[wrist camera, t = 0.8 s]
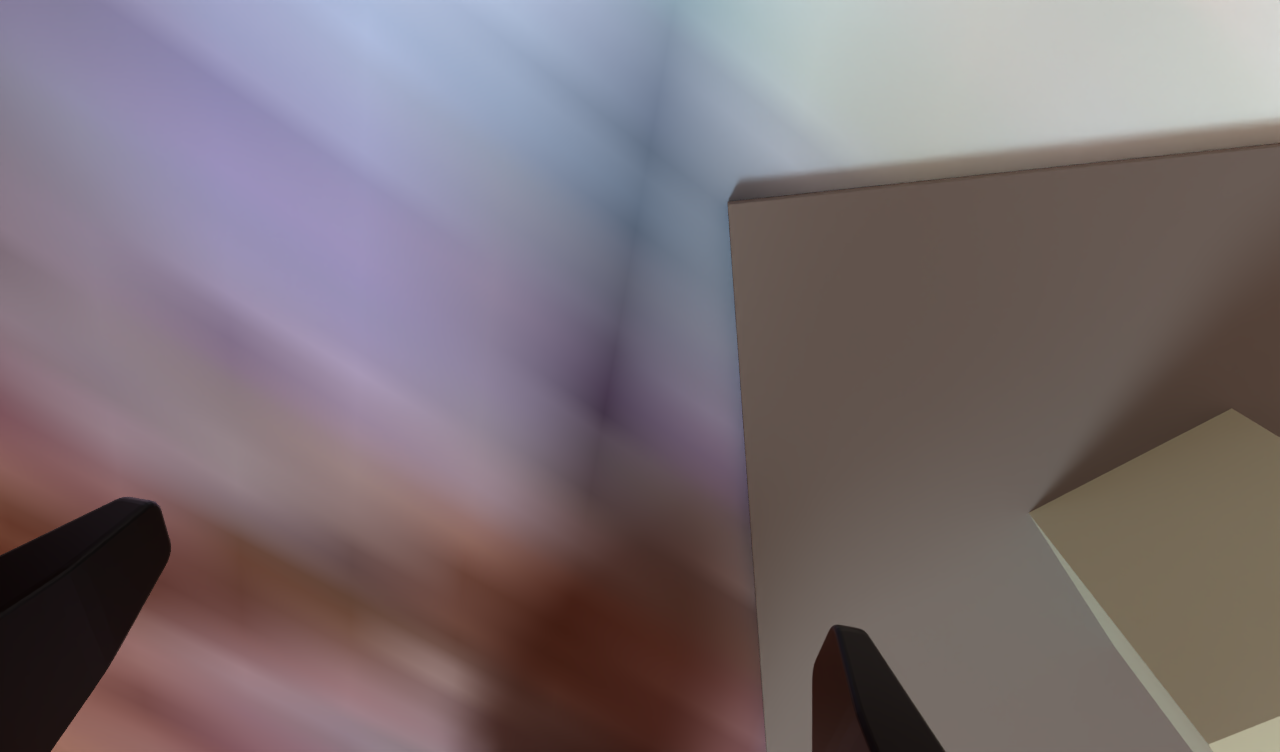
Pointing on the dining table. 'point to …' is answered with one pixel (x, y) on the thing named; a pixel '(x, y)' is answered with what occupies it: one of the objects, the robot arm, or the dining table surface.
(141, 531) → the robot arm
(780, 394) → the mat
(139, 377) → the dining table surface
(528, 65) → the dining table surface
